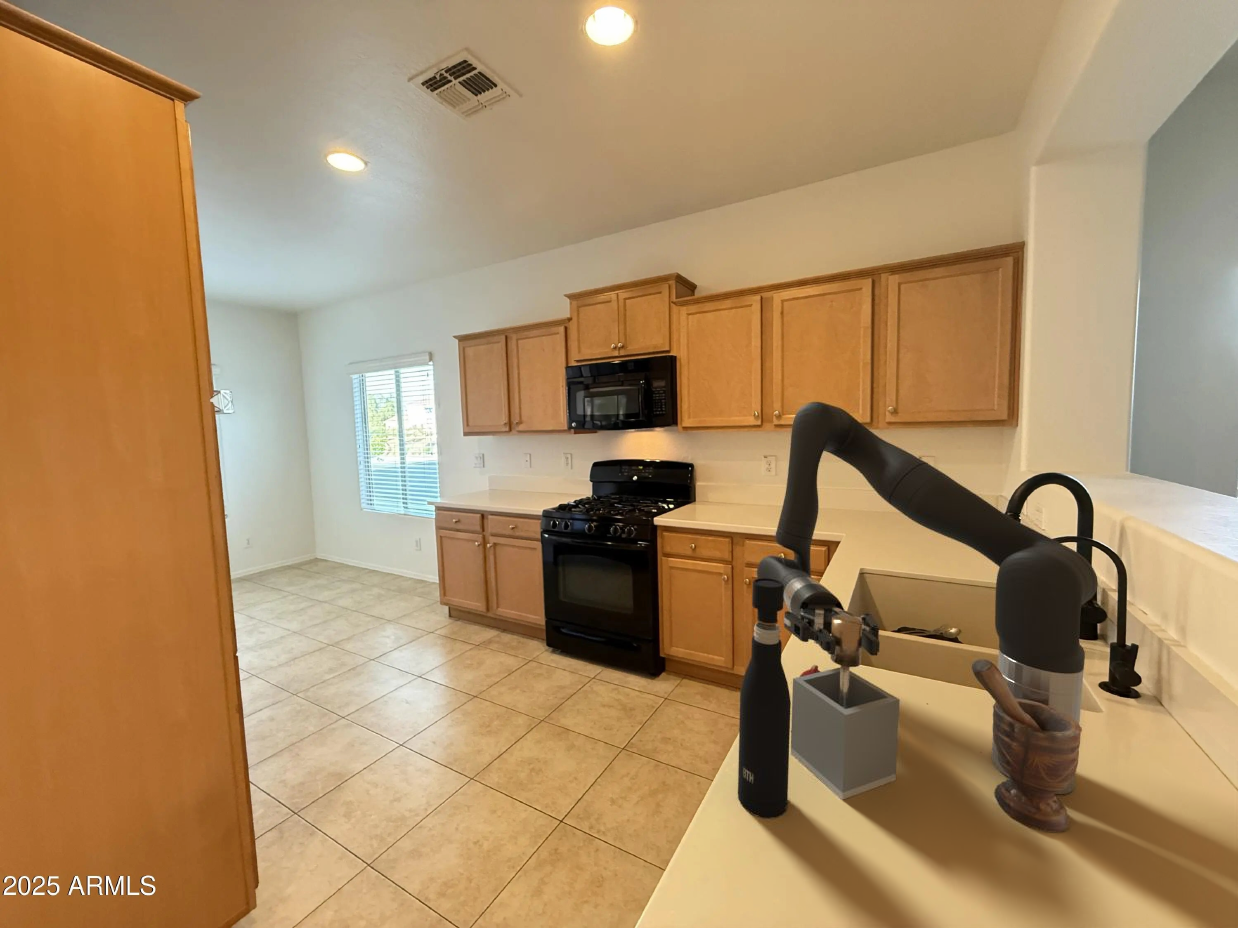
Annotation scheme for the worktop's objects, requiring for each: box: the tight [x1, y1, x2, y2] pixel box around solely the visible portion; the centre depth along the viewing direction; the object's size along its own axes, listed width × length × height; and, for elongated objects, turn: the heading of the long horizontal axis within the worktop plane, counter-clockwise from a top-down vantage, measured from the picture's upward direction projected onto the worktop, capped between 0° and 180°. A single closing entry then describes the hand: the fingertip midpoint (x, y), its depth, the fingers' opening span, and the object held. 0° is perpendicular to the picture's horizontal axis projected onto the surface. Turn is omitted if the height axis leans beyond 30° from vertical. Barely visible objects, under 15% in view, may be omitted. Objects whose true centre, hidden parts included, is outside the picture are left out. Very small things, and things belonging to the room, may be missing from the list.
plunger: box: [829, 615, 862, 709], centre depth 71 cm, size 7×7×19 cm
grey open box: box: [790, 666, 901, 800], centre depth 71 cm, size 10×10×12 cm
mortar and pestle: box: [971, 658, 1083, 833], centre depth 63 cm, size 12×9×20 cm
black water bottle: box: [737, 578, 792, 819], centre depth 64 cm, size 6×6×30 cm
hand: (854, 648), depth 68 cm, fingers open, 5 cm apart
